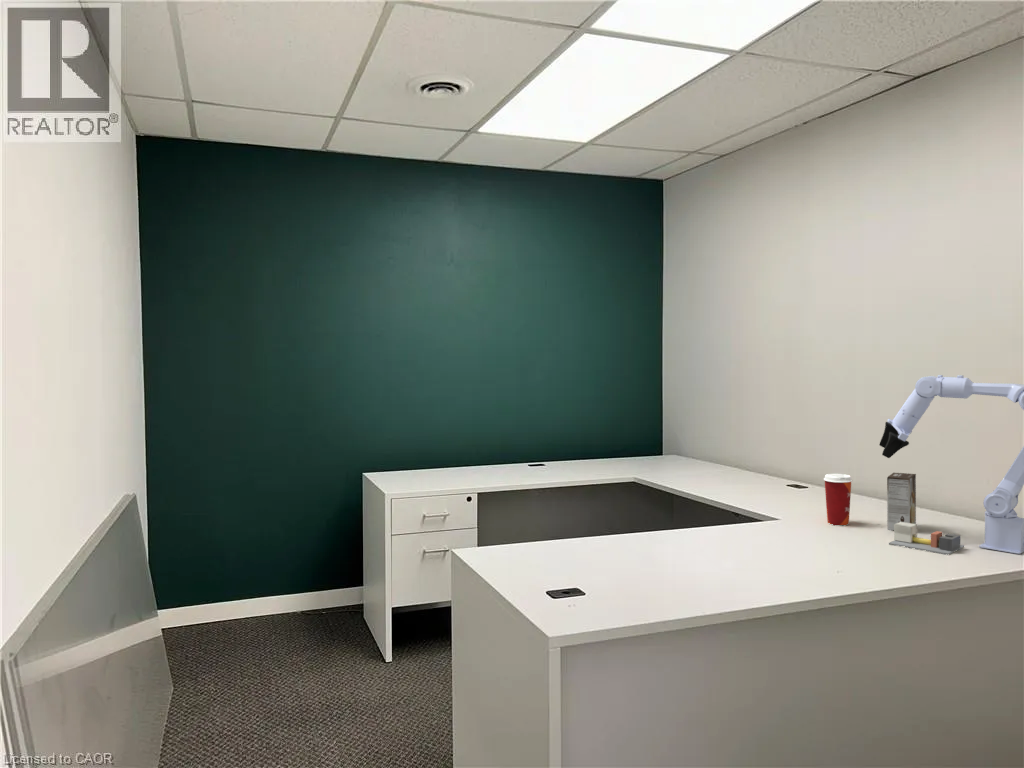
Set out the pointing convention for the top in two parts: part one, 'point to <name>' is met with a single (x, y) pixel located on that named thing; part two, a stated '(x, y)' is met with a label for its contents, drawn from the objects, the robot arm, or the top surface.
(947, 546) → the dark grey hollow block
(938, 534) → the orange thin flat block
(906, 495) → the coffee box
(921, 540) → the yellow thin rod
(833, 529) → the top surface
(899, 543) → the mat
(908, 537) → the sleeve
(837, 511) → the coffee cup
